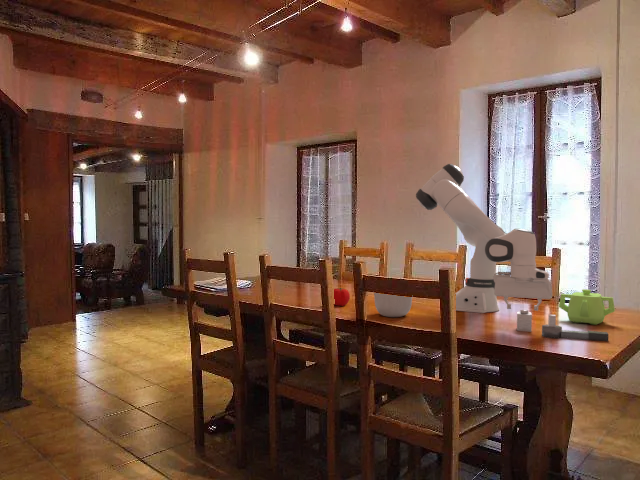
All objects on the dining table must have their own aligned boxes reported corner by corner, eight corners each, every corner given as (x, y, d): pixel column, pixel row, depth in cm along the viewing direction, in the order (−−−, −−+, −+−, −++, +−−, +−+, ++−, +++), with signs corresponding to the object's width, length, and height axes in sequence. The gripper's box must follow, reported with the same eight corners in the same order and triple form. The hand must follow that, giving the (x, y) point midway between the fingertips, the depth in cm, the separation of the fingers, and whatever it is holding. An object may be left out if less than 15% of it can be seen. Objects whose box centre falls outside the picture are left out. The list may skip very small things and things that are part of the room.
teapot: (612, 330, 197) (613, 295, 196) (554, 324, 207) (555, 291, 206) (615, 321, 212) (616, 289, 211) (561, 316, 223) (561, 285, 222)
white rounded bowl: (375, 311, 235) (375, 277, 235) (413, 312, 232) (414, 278, 231) (371, 318, 219) (371, 281, 218) (412, 320, 215) (412, 283, 215)
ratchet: (542, 337, 184) (542, 316, 184) (541, 333, 190) (541, 313, 190) (609, 342, 177) (609, 320, 177) (606, 338, 183) (606, 316, 183)
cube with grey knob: (516, 330, 196) (517, 311, 195) (516, 327, 200) (517, 309, 200) (531, 331, 194) (531, 312, 193) (531, 328, 198) (531, 309, 198)
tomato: (325, 306, 249) (325, 288, 248) (337, 302, 257) (337, 285, 257) (342, 307, 244) (342, 289, 243) (354, 304, 252) (354, 287, 252)
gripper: (493, 272, 197) (492, 309, 197) (553, 274, 189) (552, 312, 190) (494, 270, 203) (493, 306, 203) (552, 272, 195) (551, 309, 196)
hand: (522, 309), depth 196 cm, fingers open, 8 cm apart
